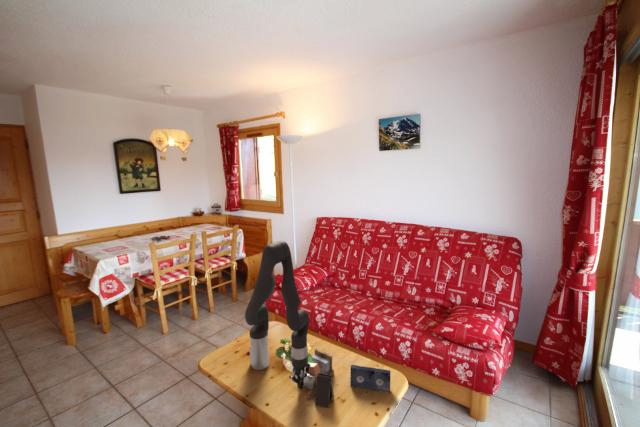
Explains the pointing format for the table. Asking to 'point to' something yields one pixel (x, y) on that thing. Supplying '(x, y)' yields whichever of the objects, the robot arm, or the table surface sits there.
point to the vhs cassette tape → (370, 378)
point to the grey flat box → (310, 380)
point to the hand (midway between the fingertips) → (300, 388)
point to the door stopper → (323, 390)
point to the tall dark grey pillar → (321, 367)
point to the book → (314, 369)
